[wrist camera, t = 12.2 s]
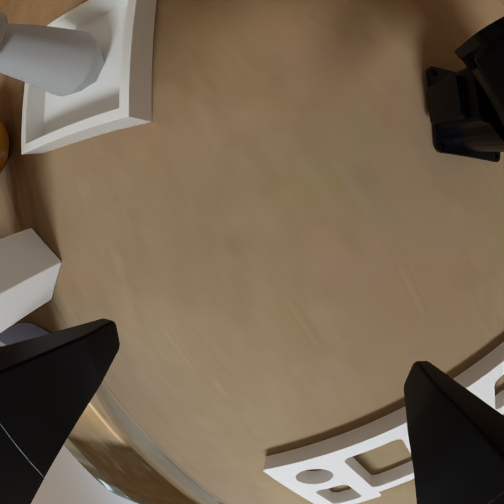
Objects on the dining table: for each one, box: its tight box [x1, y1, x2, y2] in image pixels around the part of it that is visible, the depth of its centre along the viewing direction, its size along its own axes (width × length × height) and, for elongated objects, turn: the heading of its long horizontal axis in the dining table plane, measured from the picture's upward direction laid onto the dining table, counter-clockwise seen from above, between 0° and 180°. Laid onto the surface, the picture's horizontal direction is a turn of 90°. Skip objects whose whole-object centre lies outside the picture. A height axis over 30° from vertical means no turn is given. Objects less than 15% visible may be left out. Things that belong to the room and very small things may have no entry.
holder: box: [263, 342, 504, 504], centre depth 21 cm, size 45×18×3 cm, turn 126°
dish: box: [21, 0, 157, 155], centre depth 16 cm, size 13×13×3 cm
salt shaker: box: [0, 12, 105, 96], centre depth 11 cm, size 6×6×13 cm
